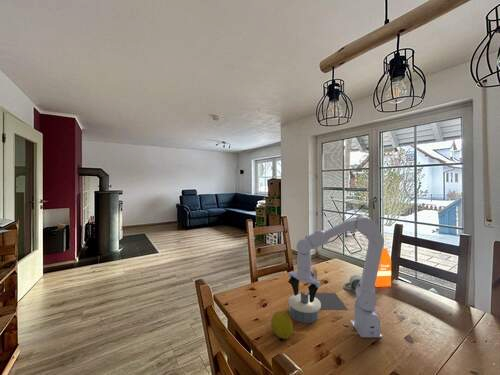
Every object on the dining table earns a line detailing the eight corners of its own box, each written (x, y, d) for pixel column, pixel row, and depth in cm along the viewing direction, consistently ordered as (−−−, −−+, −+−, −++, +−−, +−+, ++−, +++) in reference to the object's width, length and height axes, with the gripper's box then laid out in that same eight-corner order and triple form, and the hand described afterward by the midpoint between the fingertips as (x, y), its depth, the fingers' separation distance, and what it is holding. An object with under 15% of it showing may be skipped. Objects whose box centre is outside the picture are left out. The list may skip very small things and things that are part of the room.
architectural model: (311, 283, 126) (311, 270, 126) (307, 278, 133) (307, 266, 133) (317, 283, 126) (317, 270, 126) (313, 278, 133) (313, 266, 133)
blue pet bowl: (321, 324, 89) (321, 312, 89) (292, 324, 89) (292, 311, 89) (313, 307, 101) (313, 297, 101) (287, 307, 101) (287, 296, 101)
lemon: (295, 345, 78) (295, 322, 78) (273, 345, 78) (273, 322, 78) (289, 325, 89) (289, 305, 88) (270, 325, 89) (270, 305, 88)
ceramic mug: (363, 288, 120) (363, 274, 120) (367, 295, 112) (366, 280, 112) (342, 285, 123) (342, 272, 123) (344, 292, 115) (344, 278, 115)
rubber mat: (347, 311, 98) (347, 309, 98) (314, 310, 99) (314, 309, 99) (335, 294, 113) (335, 292, 113) (305, 293, 114) (305, 292, 114)
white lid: (325, 312, 89) (325, 302, 88) (291, 312, 89) (291, 302, 88) (315, 295, 102) (315, 286, 102) (285, 295, 102) (286, 286, 102)
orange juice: (367, 280, 129) (367, 246, 129) (381, 280, 130) (382, 246, 130) (376, 287, 121) (376, 250, 121) (391, 286, 122) (391, 250, 122)
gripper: (324, 268, 92) (324, 301, 93) (295, 260, 103) (294, 289, 103) (315, 273, 87) (315, 307, 88) (285, 263, 98) (285, 294, 98)
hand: (303, 298), depth 95 cm, fingers open, 7 cm apart
